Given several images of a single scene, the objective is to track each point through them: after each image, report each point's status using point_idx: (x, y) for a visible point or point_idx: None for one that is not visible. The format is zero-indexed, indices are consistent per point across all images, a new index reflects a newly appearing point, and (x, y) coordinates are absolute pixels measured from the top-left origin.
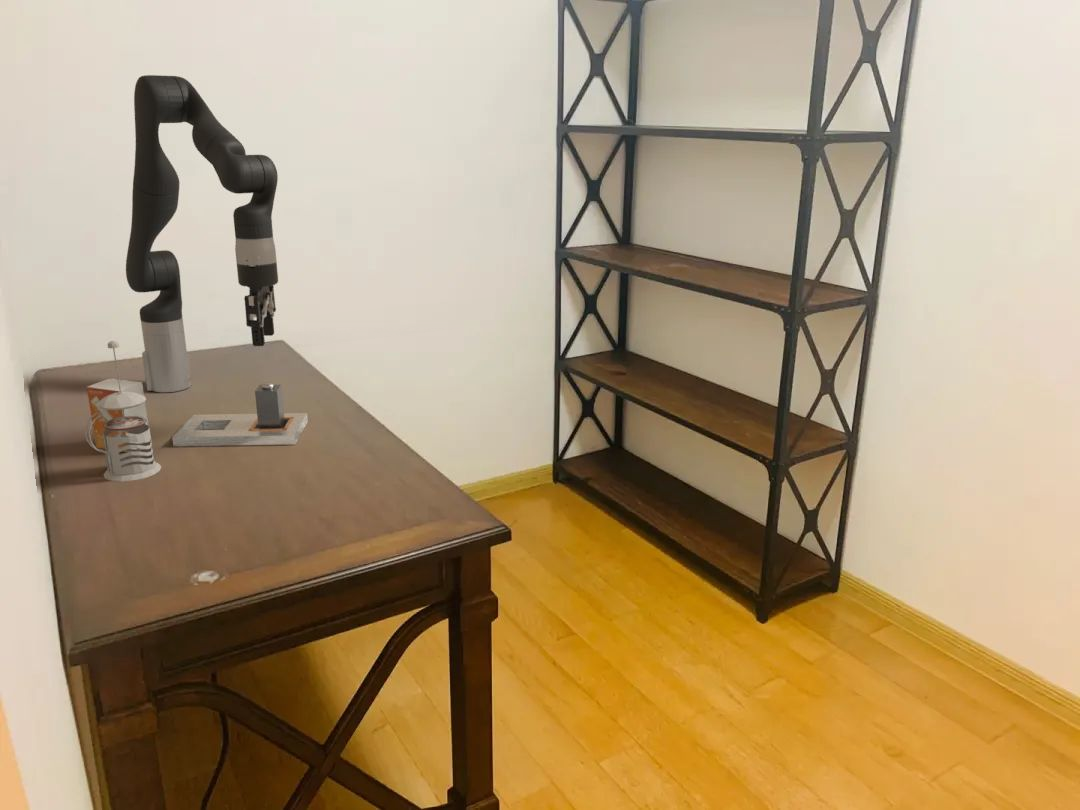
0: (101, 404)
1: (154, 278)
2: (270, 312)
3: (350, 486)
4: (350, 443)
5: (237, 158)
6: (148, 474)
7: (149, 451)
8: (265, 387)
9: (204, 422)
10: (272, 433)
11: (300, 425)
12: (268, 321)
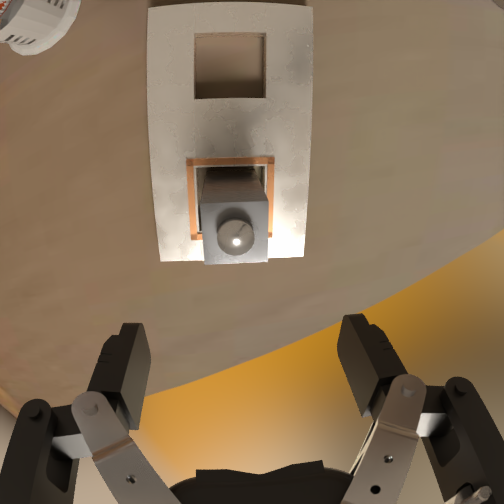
0: None
1: None
2: (363, 445)
3: (38, 344)
4: (177, 334)
5: None
6: (17, 50)
7: (50, 19)
8: (217, 233)
9: (265, 37)
10: (168, 216)
11: None
12: (361, 390)
